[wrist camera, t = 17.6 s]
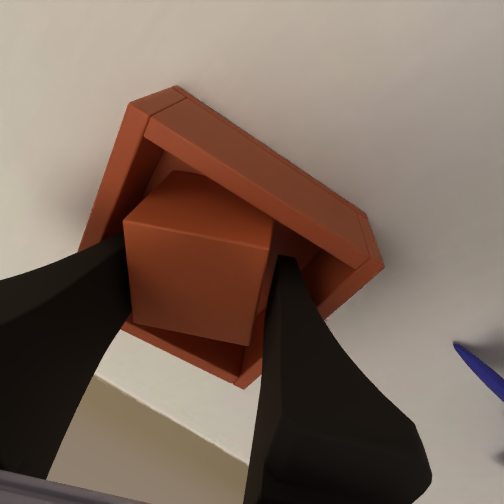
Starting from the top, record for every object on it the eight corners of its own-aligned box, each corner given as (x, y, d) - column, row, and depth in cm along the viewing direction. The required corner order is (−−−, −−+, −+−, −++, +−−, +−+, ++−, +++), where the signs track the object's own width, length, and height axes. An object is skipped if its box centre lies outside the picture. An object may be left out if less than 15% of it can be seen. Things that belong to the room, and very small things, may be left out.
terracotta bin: (366, 213, 12) (386, 267, 9) (254, 329, 17) (244, 390, 14) (175, 84, 11) (127, 101, 8) (106, 250, 15) (59, 300, 12)
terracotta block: (279, 189, 12) (270, 248, 8) (262, 274, 14) (249, 347, 11) (172, 169, 12) (121, 220, 8) (172, 256, 14) (132, 323, 11)
